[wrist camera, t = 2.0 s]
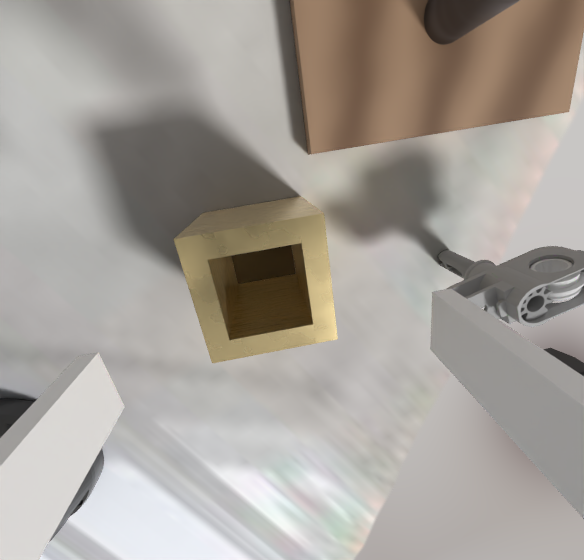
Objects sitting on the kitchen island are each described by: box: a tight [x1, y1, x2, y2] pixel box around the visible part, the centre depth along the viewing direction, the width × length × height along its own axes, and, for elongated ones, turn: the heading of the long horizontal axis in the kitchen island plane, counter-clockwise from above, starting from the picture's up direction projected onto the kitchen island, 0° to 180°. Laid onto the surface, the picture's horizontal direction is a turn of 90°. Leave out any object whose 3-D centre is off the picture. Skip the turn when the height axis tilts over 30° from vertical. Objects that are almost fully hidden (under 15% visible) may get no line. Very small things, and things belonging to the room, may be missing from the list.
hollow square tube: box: [174, 196, 338, 363], centre depth 21 cm, size 8×8×9 cm
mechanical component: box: [438, 246, 584, 327], centre depth 23 cm, size 3×10×10 cm, turn 114°
